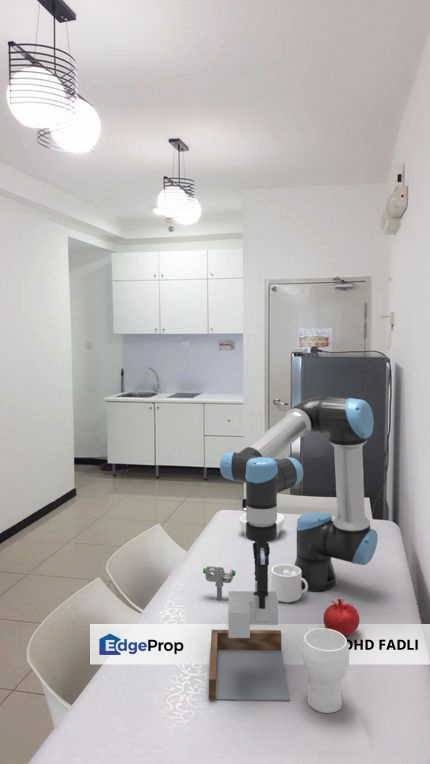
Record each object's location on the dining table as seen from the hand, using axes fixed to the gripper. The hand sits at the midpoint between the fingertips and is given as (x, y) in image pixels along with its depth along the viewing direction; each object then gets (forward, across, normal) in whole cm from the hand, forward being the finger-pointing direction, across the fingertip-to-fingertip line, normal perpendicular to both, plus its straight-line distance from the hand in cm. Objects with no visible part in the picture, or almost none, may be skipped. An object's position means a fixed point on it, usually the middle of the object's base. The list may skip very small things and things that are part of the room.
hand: (260, 613), depth 135 cm
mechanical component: (+15, -38, -11) cm, 42 cm away
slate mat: (+15, -9, -11) cm, 21 cm away
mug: (+15, -40, +12) cm, 44 cm away
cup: (+15, +11, +14) cm, 24 cm away
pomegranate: (+15, -20, +24) cm, 35 cm away
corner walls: (+15, -9, -11) cm, 21 cm away
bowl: (+15, -91, +6) cm, 92 cm away
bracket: (+2, 0, -2) cm, 3 cm away
